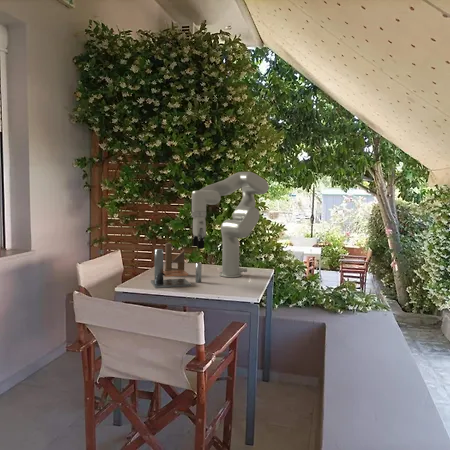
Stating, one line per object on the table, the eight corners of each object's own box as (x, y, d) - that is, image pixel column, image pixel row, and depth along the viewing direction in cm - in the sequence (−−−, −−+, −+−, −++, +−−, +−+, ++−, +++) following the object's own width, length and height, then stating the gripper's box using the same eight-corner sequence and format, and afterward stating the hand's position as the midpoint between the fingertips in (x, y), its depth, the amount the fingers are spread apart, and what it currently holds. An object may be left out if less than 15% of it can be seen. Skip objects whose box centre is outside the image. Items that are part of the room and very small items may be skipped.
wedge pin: (200, 281, 233) (200, 262, 233) (202, 282, 231) (202, 263, 230) (194, 281, 233) (195, 262, 232) (196, 282, 230) (196, 263, 229)
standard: (155, 288, 216) (155, 251, 215) (150, 282, 230) (150, 247, 228) (191, 286, 222) (191, 250, 221) (184, 280, 235) (184, 246, 234)
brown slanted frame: (184, 275, 249) (184, 243, 247) (165, 275, 247) (165, 243, 246) (183, 274, 252) (184, 242, 251) (164, 274, 251) (164, 242, 249)
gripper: (210, 215, 222) (210, 249, 223) (201, 213, 238) (201, 245, 239) (196, 215, 219) (195, 249, 221) (187, 213, 236) (187, 245, 237)
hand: (198, 247), depth 230 cm, fingers open, 9 cm apart
